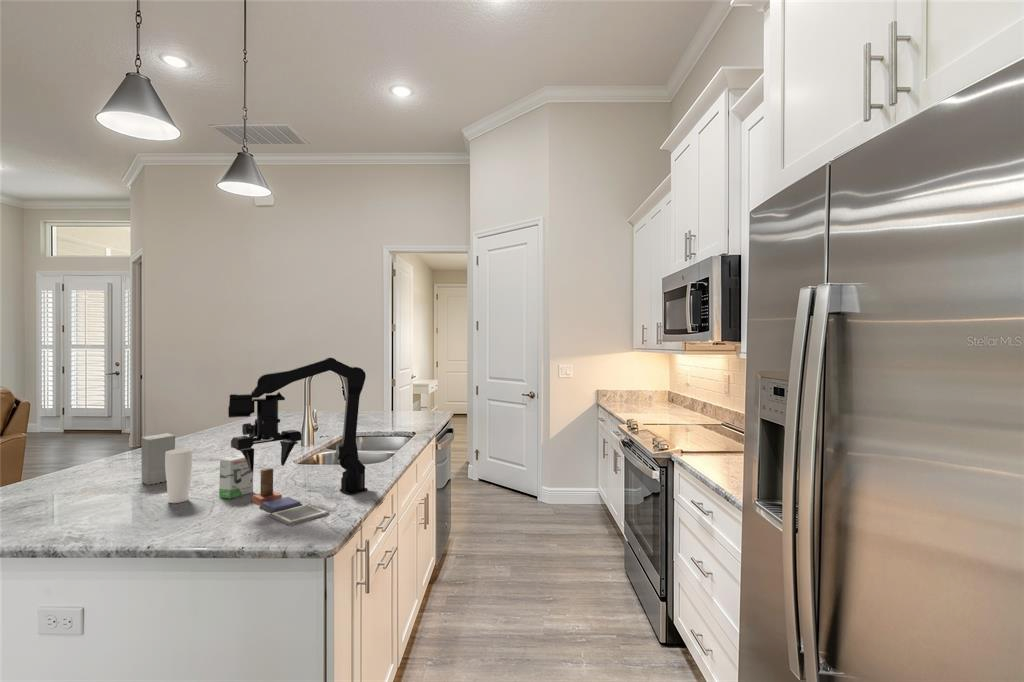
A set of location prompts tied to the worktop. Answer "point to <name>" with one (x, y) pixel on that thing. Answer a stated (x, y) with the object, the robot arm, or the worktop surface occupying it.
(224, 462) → the ink box
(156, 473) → the skincare box
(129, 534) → the worktop surface
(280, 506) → the ink pad
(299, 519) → the marked board
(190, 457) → the drinking glass
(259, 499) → the stamp
